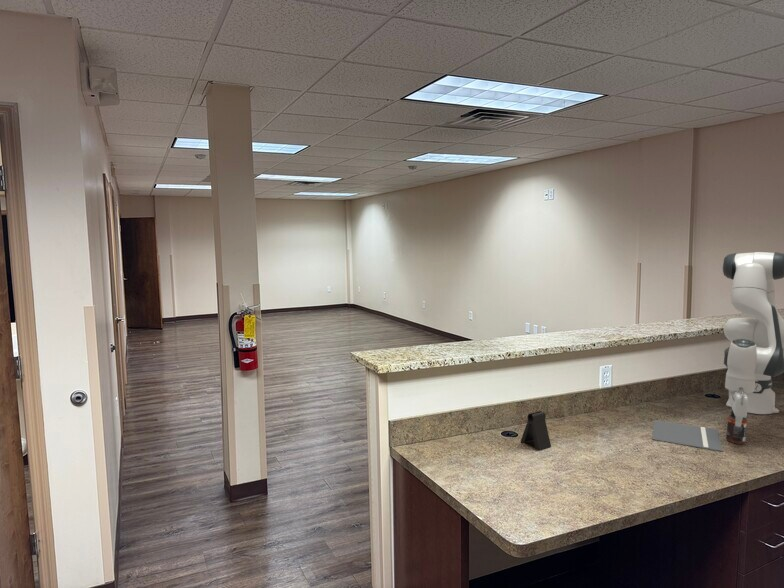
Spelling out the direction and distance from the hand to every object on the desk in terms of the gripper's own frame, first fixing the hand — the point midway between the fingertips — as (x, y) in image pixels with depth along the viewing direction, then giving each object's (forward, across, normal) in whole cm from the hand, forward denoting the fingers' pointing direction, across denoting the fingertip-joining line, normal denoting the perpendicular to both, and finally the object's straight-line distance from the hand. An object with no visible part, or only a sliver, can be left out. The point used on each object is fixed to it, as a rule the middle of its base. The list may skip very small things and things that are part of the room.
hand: (736, 421), depth 189 cm
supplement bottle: (+8, 0, 0) cm, 8 cm away
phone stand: (+9, -37, +64) cm, 74 cm away
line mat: (+8, -2, +16) cm, 17 cm away
